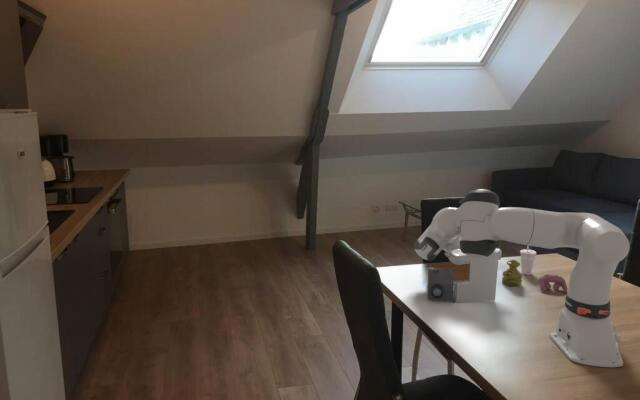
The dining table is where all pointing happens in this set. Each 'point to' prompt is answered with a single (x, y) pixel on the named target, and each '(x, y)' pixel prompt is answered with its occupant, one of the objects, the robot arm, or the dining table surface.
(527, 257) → the smoothie
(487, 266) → the side door
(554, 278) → the video game controller
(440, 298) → the camera body
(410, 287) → the dining table surface
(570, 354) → the robot arm
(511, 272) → the gold stepped round piece
